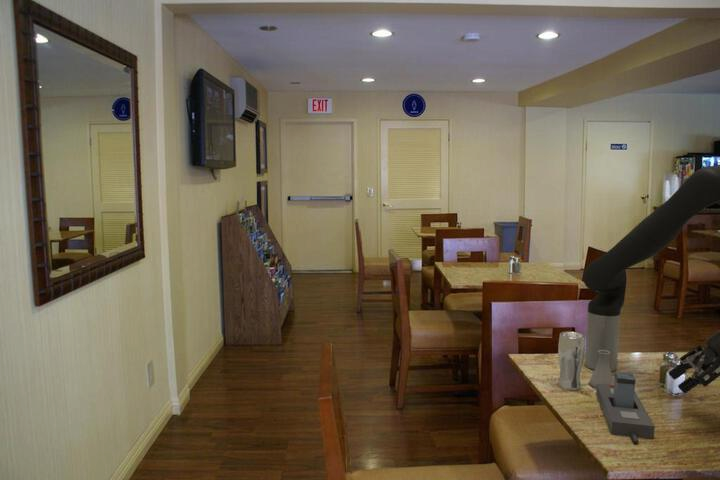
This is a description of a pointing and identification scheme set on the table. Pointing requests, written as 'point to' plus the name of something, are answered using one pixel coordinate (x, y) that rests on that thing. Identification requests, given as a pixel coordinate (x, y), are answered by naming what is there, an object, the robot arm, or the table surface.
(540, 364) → the table surface
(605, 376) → the flask
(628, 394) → the plug
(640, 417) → the power strip
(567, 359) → the beer glass
